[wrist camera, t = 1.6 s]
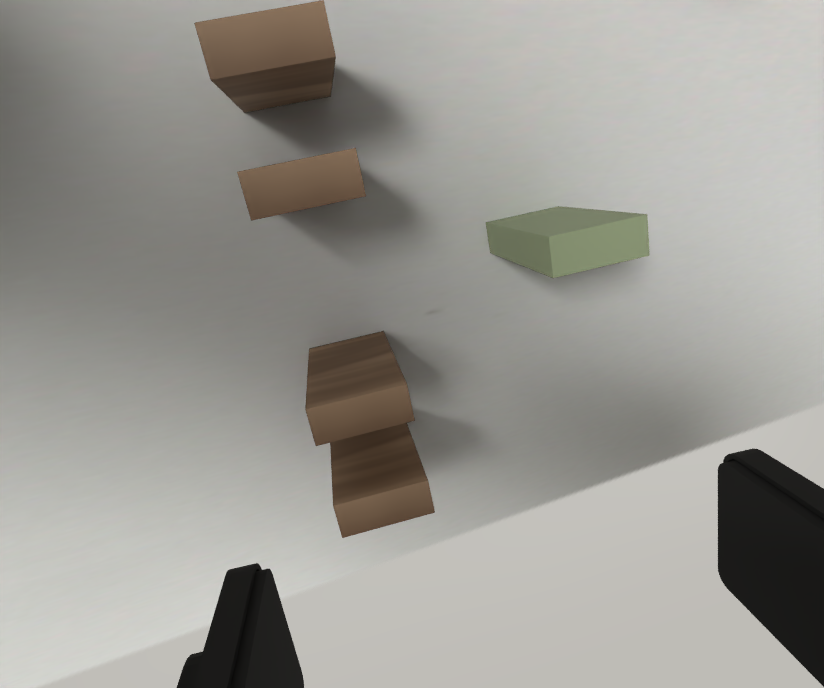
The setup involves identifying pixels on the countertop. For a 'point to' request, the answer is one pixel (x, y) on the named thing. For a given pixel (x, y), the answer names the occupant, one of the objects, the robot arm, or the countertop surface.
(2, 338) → the countertop surface
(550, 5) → the countertop surface
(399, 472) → the domino
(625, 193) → the countertop surface
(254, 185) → the domino
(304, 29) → the domino
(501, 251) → the olive domino
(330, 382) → the domino
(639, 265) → the countertop surface
